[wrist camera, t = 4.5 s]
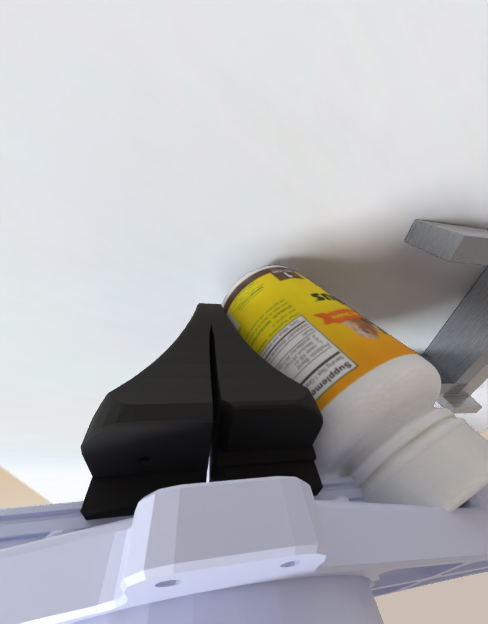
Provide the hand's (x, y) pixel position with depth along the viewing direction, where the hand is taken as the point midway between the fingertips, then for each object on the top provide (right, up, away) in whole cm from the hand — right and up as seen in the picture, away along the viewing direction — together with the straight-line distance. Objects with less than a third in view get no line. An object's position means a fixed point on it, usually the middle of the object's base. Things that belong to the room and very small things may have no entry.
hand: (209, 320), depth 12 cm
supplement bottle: (+3, +1, +2) cm, 3 cm away
